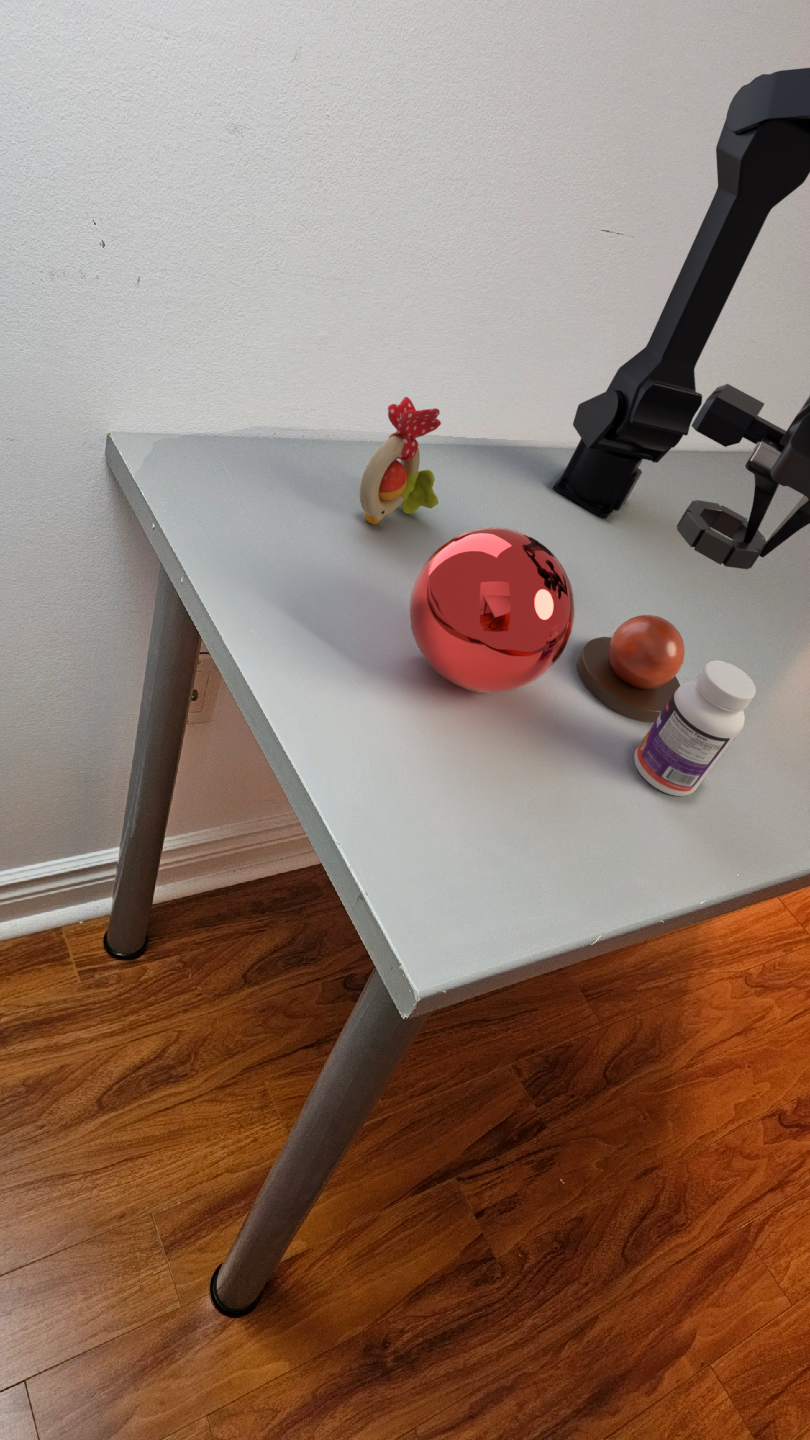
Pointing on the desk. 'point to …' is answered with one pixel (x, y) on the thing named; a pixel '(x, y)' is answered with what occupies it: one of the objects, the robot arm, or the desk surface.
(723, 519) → the black ring
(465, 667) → the ball
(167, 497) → the desk surface
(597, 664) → the ball stand
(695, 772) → the pill bottle
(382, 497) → the bird rattle
